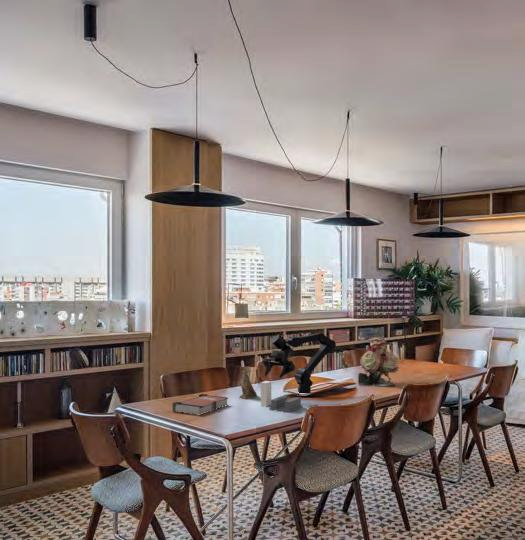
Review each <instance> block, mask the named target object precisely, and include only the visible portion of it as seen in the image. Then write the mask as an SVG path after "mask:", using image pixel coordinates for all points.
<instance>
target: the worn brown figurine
mask: <svg viewBox="0 0 525 540" xmlns="http://www.w3.org/2000/svg"><path fill="white" fill-rule="evenodd" d="M240 387H241V392H242V394H240V396H239V399H240V398H242V399H241V400H248V398H249V399H252V398H257V395H258V394H257V392H256V390H255V389H254V386H253V385H252V383H251V380H250V377H249V375H248V374H247V370H246V369H243V370H242V380H241V381H240Z"/></svg>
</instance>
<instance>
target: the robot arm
mask: <svg viewBox="0 0 525 540" xmlns="http://www.w3.org/2000/svg"><path fill="white" fill-rule="evenodd" d="M316 341H317V342H318V343H319V344H320V345H319V348H318V351H317V352H316V353H315V354H314V355H313V356H312V358H311V359H310V360H309V362H308V363H307V364H306V365H305V366H304V367H299V368H298V370H297V371H295V370H296V366H295V364H294V362H293V361H292V360H289V356H290V355H293V354H295V351H294V348H298V347H300V346H302V345H304V344H306V343H311V342H316ZM270 343H271V344H272V346H274V347H275V348H276V349H275V350H272V351H271V355H270V356H271V357H272V359H273V360H272V359H271V358H266V357H264V358H263V359H262V360H261V362H262V363H263V365H264V367H265V370H264V375H265V377H266V376H268V374H269V373H270V372H271V371H272V368H274V366H276V367H281V368H282V370H281V372H280V374H279V378H280V379H281V378H283V377H284V376H285V375H287V374H289V373H292V372H294V371H295V374H294V379H295V381H296V384H297V385H298V387H297V393H298V392H299V393H312V392H311V391H312V390H311V386H312V387H313V382H314V381H312V380H311V376H312V373H313V371H314V370H315V369H316V368H317V366H318V365H319V364H320V363H321V362H322V360H323V359H324V357H325V356H326V355H327V354H329V353H330V354H331V352H332V351H334V350H335V349H336V347H337V343H336V341H335V340H333V339H331V338H330V337H328V336H326V335H325V334H324V333H322V332H316V333H312V334H307V335H302V336H288V337H287V338H285V339H284V337H283V336H282V335H281V334H280V333H279V334H276V335H275V336H273V337H272V338H271V340H270ZM307 397H312V395H311V394H310V395H308V396H307ZM300 398H303V397H302V396H300Z"/></svg>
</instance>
